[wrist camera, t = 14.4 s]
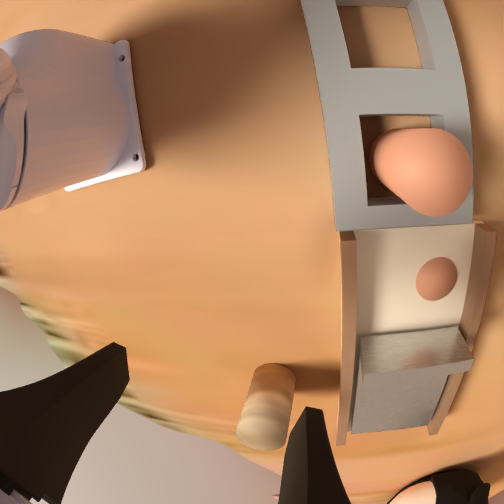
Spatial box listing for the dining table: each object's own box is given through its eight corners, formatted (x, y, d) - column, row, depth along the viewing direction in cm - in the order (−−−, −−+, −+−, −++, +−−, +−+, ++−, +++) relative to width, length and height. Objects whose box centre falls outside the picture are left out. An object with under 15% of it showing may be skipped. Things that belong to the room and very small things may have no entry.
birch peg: (250, 362, 22) (230, 422, 17) (294, 363, 21) (283, 426, 16) (256, 391, 23) (240, 447, 18) (297, 392, 23) (287, 451, 17)
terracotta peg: (360, 139, 15) (383, 141, 9) (413, 122, 14) (459, 119, 8) (380, 195, 16) (409, 227, 10) (431, 179, 15) (479, 203, 9)
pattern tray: (338, 228, 17) (341, 241, 15) (480, 220, 15) (496, 231, 13) (337, 426, 24) (336, 445, 22) (433, 416, 21) (437, 434, 19)
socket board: (298, -7, 12) (295, -22, 10) (426, -5, 10) (436, -18, 8) (334, 220, 17) (336, 231, 15) (458, 213, 15) (472, 223, 13)
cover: (359, 336, 18) (364, 373, 15) (457, 326, 16) (474, 358, 13) (350, 426, 22) (350, 458, 19) (427, 418, 20) (433, 448, 17)
